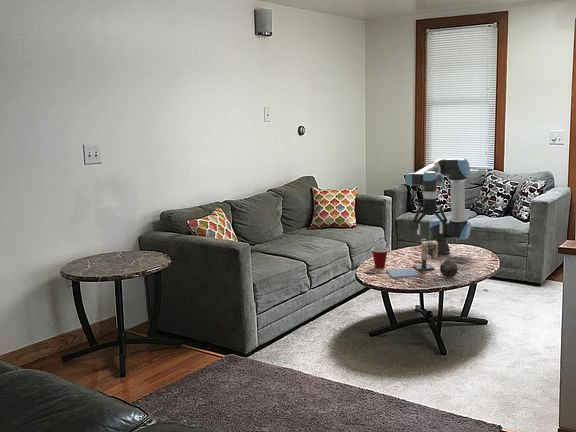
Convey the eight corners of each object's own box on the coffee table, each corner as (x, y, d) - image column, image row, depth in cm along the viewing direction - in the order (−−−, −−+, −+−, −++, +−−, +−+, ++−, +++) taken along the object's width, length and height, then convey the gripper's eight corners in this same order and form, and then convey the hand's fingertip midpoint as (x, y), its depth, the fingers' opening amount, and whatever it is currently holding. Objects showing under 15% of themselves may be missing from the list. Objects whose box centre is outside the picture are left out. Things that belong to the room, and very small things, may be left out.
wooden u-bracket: (435, 257, 376) (435, 240, 375) (437, 259, 372) (437, 242, 370) (422, 258, 376) (422, 241, 374) (424, 260, 371) (424, 243, 369)
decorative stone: (437, 278, 365) (437, 261, 364) (444, 274, 373) (444, 257, 371) (453, 280, 359) (453, 263, 357) (460, 276, 367) (460, 259, 365)
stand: (429, 266, 392) (429, 237, 389) (440, 275, 371) (441, 244, 368) (413, 267, 392) (413, 238, 388) (424, 276, 370) (424, 245, 367)
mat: (411, 269, 385) (411, 268, 385) (419, 276, 370) (419, 275, 369) (386, 271, 384) (385, 269, 384) (392, 278, 368) (392, 276, 368)
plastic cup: (378, 270, 388) (377, 251, 385) (368, 266, 397) (367, 248, 395) (392, 267, 392) (392, 248, 390) (382, 264, 402) (381, 245, 400)
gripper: (410, 200, 363) (410, 236, 366) (452, 198, 365) (452, 234, 368) (407, 198, 370) (407, 233, 374) (448, 196, 372) (448, 231, 376)
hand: (429, 234), depth 371 cm, fingers open, 13 cm apart
